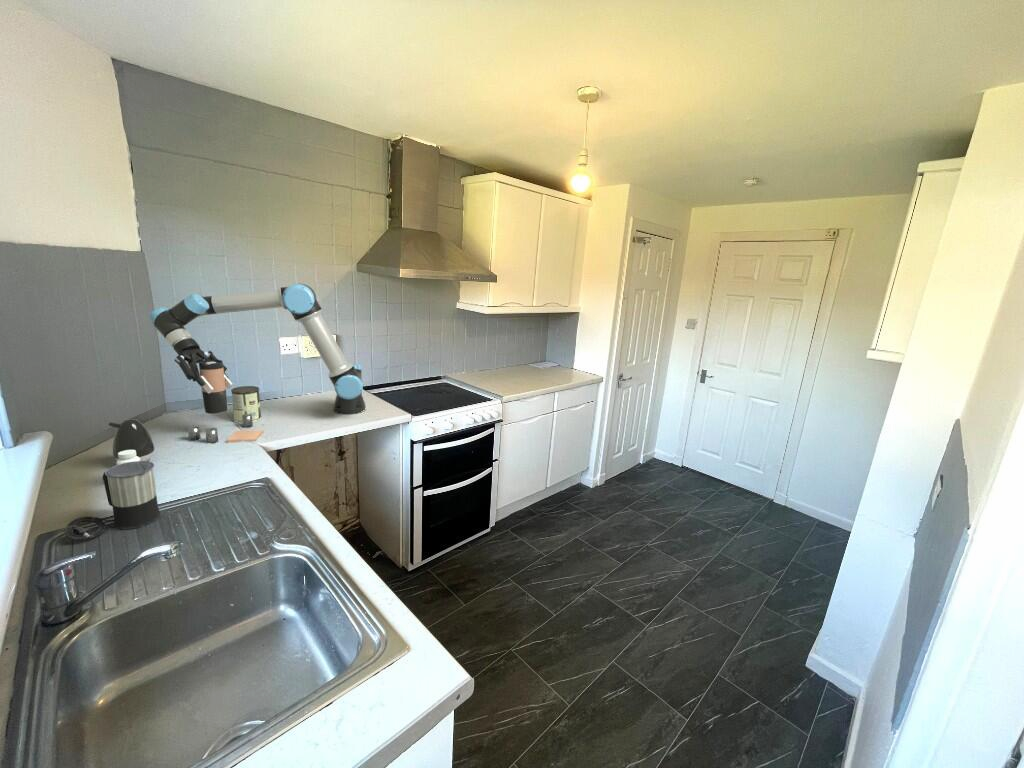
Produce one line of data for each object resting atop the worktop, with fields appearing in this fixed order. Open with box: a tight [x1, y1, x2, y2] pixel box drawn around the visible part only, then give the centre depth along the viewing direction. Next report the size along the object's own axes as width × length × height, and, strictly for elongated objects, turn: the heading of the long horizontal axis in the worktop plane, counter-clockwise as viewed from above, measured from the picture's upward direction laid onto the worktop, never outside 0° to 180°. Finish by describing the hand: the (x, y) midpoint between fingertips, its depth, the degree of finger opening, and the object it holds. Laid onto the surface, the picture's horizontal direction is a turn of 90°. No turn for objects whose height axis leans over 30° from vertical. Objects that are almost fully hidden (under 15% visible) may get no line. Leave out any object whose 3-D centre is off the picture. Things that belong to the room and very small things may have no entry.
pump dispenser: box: [108, 418, 155, 462], centre depth 135 cm, size 10×10×15 cm
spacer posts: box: [187, 414, 254, 444], centre depth 164 cm, size 17×20×5 cm
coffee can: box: [230, 385, 262, 424], centre depth 181 cm, size 10×10×14 cm
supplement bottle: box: [115, 450, 141, 466], centre depth 124 cm, size 5×5×10 cm
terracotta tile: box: [225, 429, 265, 443], centre depth 164 cm, size 10×10×1 cm
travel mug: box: [198, 359, 228, 415], centre depth 161 cm, size 8×8×20 cm
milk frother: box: [64, 460, 161, 542], centre depth 103 cm, size 14×16×15 cm
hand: (220, 388), depth 160 cm, fingers closed on travel mug, 7 cm apart
